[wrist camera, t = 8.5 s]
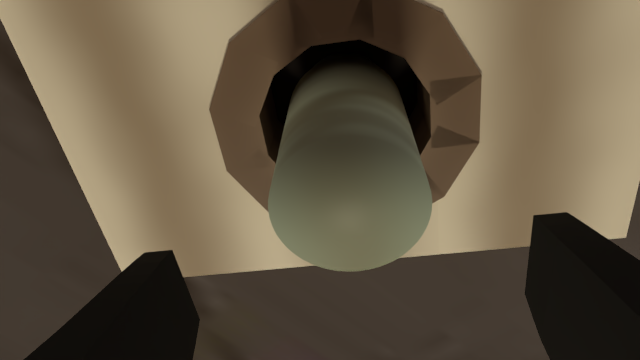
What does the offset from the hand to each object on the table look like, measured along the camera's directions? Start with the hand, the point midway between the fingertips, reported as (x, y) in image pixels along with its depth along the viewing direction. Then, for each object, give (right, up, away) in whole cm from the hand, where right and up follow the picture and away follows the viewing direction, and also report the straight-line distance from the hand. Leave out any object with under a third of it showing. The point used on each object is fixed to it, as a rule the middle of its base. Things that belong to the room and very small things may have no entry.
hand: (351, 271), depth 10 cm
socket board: (0, +5, +9) cm, 10 cm away
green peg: (0, +5, +9) cm, 10 cm away
